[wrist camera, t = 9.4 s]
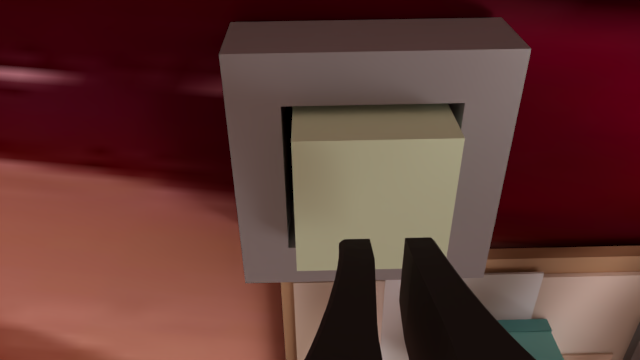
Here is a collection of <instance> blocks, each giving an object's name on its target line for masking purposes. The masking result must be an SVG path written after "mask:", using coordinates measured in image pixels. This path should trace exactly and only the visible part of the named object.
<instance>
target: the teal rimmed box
mask: <svg viewBox="0 0 640 360" xmlns="http://www.w3.org/2000/svg"><path fill="white" fill-rule="evenodd" d="M497 321H498V322H499V323H500V324H501V325H502V326H503V327H504V328H505V329H506V331H507V332H508V333H509V334H510V335H511V336H512V337H513V338H514V339H515V340H516V341H517V342H518V343H519V344H520V345H521V346H522V347H523V348H524V349H525V350H526V351H528V352H529V353H530V354H531V355H532V356H533V357H534V358H535V359H536V360H564V358H563V356H562V354H561V352H560V350H559V348H558V346H557V344H556V341H555V339H554V337H553V335H552V329H551V327H550V325H549V323H548V320H547V319H517V320H497Z"/></svg>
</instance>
